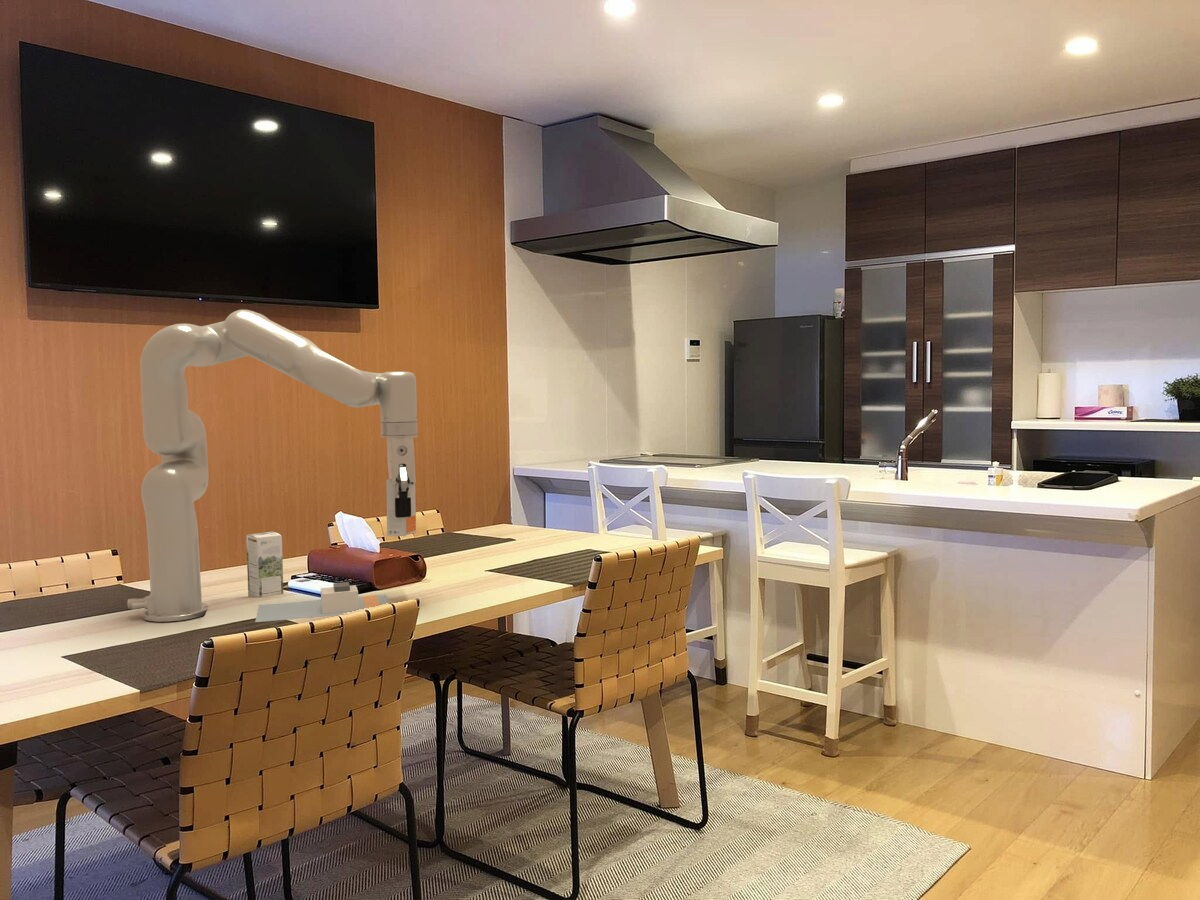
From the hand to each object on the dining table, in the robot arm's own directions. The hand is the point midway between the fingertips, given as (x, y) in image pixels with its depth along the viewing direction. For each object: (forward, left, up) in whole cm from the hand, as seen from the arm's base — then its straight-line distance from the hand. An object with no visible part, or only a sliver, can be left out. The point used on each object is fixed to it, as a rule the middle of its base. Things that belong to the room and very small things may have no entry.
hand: (401, 514), depth 195 cm
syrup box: (-28, +18, -20) cm, 39 cm away
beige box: (-13, -4, -18) cm, 23 cm away
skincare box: (0, 0, -5) cm, 5 cm away
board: (-16, -1, -19) cm, 25 cm away
